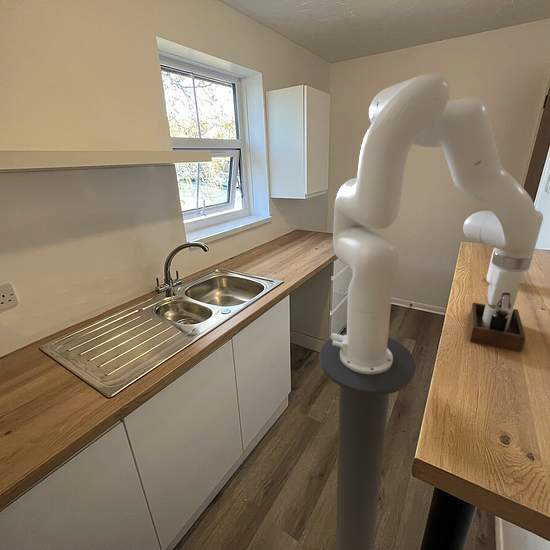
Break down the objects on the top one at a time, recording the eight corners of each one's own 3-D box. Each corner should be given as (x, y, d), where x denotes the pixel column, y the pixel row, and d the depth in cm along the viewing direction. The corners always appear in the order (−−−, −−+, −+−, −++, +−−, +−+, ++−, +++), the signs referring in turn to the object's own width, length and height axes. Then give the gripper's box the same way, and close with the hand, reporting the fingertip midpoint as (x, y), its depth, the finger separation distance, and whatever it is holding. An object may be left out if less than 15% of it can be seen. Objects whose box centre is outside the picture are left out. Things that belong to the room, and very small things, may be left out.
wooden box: (470, 341, 79) (473, 327, 77) (470, 315, 90) (472, 302, 88) (521, 352, 73) (525, 337, 72) (514, 322, 85) (517, 309, 83)
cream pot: (480, 332, 80) (486, 309, 78) (480, 321, 85) (485, 299, 82) (508, 337, 77) (515, 314, 75) (506, 326, 82) (512, 303, 79)
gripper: (490, 248, 82) (478, 304, 89) (494, 271, 69) (479, 335, 75) (525, 251, 78) (509, 309, 85) (536, 275, 65) (516, 343, 72)
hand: (495, 321), depth 80 cm, fingers open, 7 cm apart
